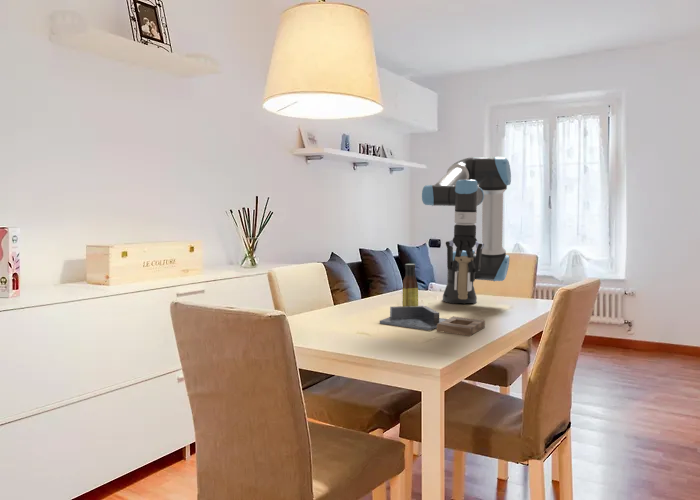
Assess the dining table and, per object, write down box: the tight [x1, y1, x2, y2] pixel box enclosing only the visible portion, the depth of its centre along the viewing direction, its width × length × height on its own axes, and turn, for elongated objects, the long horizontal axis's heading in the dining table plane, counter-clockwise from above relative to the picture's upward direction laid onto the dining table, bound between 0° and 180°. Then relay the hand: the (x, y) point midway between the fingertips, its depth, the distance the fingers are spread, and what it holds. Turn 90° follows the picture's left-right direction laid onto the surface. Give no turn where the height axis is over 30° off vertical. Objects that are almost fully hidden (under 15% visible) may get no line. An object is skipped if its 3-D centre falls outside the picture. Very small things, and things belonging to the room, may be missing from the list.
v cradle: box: [379, 305, 448, 331], centre depth 212 cm, size 18×20×5 cm
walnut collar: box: [436, 316, 486, 337], centre depth 203 cm, size 16×12×2 cm
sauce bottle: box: [402, 263, 419, 306], centre depth 229 cm, size 7×6×20 cm
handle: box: [455, 256, 473, 299], centre depth 202 cm, size 5×6×15 cm
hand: (463, 289), depth 202 cm, fingers closed on handle, 4 cm apart
